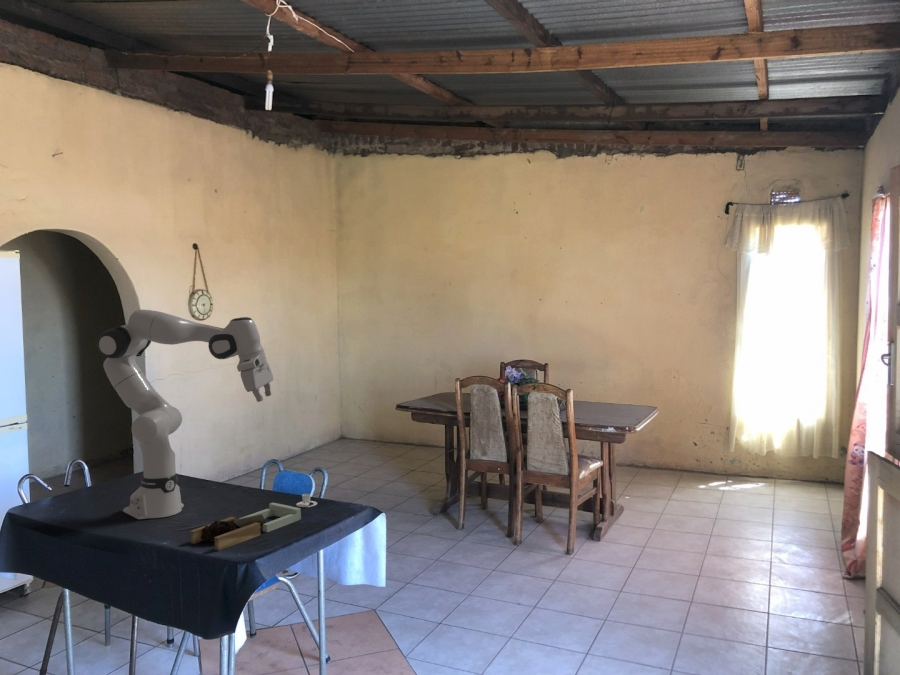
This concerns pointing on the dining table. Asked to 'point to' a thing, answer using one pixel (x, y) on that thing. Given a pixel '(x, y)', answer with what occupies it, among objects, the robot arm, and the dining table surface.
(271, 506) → the frame
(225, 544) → the oak channel
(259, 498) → the dining table surface
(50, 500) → the dining table surface
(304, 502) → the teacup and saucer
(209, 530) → the dark piece
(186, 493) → the dining table surface
